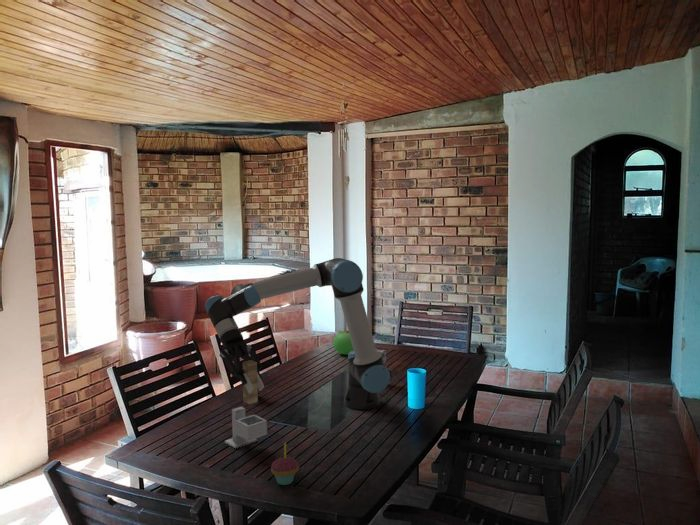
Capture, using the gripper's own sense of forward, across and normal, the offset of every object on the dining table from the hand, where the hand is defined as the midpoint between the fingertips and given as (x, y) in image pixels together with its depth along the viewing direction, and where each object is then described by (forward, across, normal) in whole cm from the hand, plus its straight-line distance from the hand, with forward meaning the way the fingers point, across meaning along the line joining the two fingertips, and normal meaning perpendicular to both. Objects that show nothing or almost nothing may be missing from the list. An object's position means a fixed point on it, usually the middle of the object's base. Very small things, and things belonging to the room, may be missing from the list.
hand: (256, 390), depth 179 cm
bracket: (+10, 0, -20) cm, 23 cm away
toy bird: (-33, -110, -64) cm, 131 cm away
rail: (+1, 0, -6) cm, 6 cm away
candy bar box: (0, -81, -31) cm, 87 cm away
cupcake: (+31, +6, 0) cm, 32 cm away
